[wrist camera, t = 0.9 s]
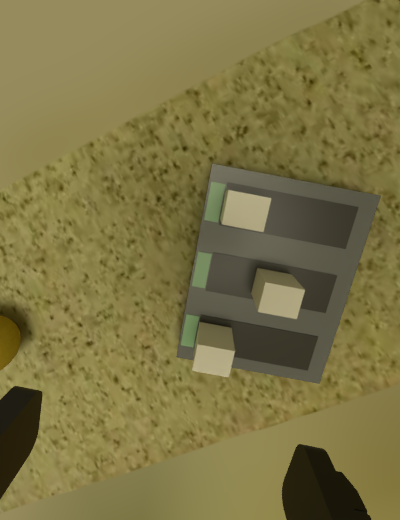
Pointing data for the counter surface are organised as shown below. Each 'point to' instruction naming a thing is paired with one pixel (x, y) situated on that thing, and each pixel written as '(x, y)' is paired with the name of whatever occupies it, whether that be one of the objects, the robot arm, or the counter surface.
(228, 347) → the block
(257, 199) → the block
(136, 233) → the counter surface
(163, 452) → the counter surface
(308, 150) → the counter surface
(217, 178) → the breaker panel
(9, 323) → the lemon
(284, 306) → the block
